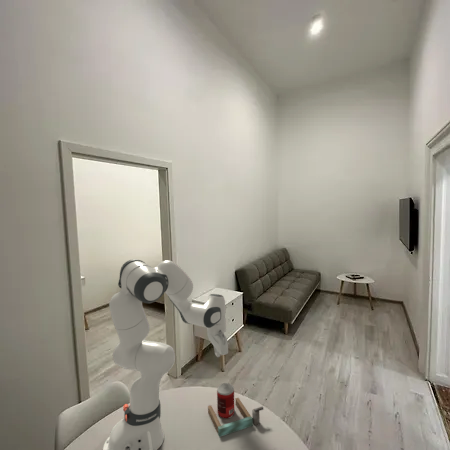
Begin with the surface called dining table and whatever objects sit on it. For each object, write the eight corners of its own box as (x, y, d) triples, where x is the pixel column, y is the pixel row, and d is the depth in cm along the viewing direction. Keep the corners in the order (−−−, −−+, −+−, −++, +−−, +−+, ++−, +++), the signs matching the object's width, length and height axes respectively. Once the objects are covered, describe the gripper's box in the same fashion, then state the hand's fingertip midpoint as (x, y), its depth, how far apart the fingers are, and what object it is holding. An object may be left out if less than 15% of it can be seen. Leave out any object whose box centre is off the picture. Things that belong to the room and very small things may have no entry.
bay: (219, 438, 102) (219, 423, 102) (208, 412, 116) (207, 399, 116) (265, 423, 109) (264, 409, 109) (248, 400, 124) (248, 388, 124)
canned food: (235, 406, 120) (234, 383, 120) (233, 419, 112) (233, 394, 112) (218, 406, 120) (218, 382, 121) (216, 418, 112) (215, 393, 113)
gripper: (231, 334, 117) (231, 364, 117) (216, 319, 136) (216, 345, 136) (218, 336, 115) (218, 367, 115) (204, 321, 134) (205, 348, 134)
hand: (217, 355), depth 126 cm, fingers closed
